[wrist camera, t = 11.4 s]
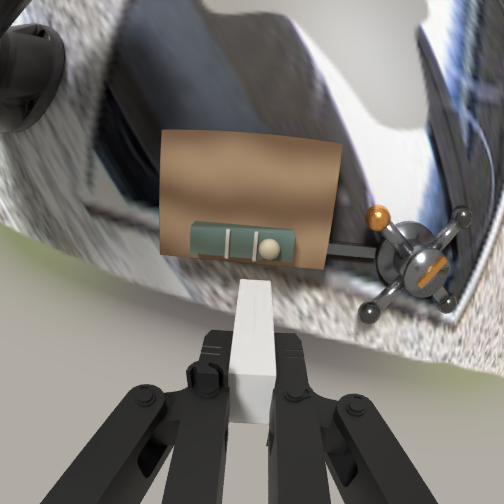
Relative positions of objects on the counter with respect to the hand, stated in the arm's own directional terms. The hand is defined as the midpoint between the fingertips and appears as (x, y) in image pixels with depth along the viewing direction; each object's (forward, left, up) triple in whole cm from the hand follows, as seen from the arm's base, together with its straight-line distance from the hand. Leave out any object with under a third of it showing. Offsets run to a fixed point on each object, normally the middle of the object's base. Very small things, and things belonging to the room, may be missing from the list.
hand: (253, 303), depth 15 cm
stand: (-3, -1, -18) cm, 18 cm away
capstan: (+2, +18, -16) cm, 24 cm away
